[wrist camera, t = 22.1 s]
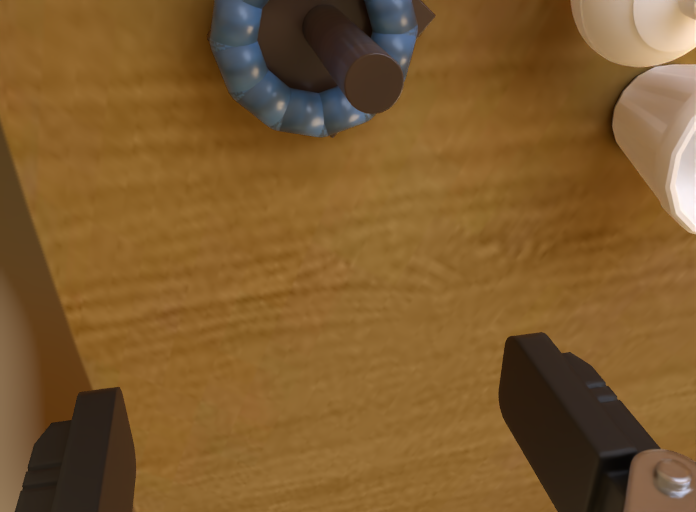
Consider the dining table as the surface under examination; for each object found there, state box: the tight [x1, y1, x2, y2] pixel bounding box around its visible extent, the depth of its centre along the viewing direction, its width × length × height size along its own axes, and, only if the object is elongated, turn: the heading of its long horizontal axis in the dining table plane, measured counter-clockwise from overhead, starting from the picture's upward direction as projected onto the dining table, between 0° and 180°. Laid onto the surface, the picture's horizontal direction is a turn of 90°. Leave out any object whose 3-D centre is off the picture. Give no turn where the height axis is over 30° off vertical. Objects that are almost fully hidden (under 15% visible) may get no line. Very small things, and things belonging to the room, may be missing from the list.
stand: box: [207, 0, 436, 138], centre depth 31 cm, size 9×9×14 cm
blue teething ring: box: [210, 0, 418, 137], centre depth 35 cm, size 11×11×2 cm
